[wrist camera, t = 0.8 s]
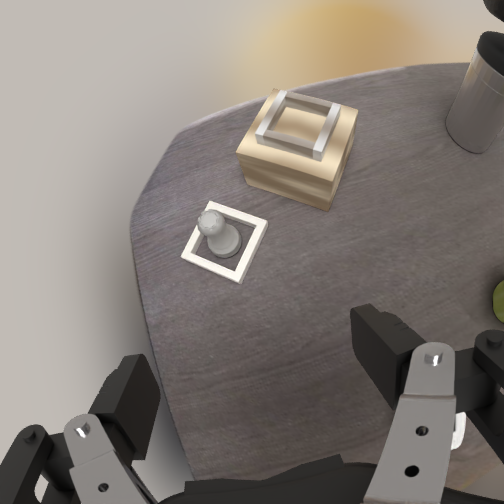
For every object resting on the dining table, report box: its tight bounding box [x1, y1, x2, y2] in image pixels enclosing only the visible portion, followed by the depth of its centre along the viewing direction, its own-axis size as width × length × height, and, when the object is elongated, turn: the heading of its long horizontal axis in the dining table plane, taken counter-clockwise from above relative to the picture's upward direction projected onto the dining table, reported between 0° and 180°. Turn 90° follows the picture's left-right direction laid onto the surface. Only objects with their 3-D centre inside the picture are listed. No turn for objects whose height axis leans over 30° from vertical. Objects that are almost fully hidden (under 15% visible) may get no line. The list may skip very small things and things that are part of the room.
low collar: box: [181, 201, 268, 284], centre depth 40 cm, size 9×9×2 cm
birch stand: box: [236, 89, 358, 212], centre depth 38 cm, size 12×12×10 cm
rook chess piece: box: [197, 209, 242, 258], centre depth 37 cm, size 4×4×8 cm
